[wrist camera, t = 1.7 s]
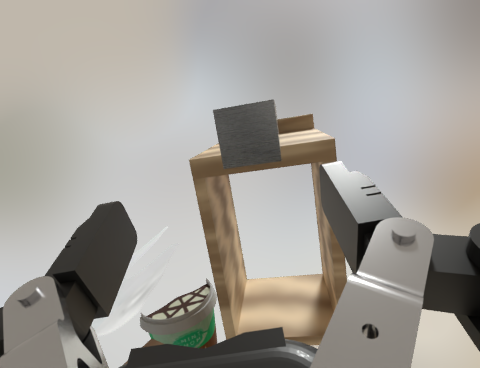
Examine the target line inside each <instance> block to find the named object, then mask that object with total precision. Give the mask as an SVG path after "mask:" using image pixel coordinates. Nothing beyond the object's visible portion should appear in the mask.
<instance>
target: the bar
mask: <svg viewBox="0 0 480 368" xmlns="http://www.w3.org/2000/svg"><path fill="white" fill-rule="evenodd" d="M213 113H214V119H215V124H216V130H217V135H218V140H219V146H220V152H221V157H222V163H223V168H224V169H228V168H235V167H243V166H250V165H257V164H264V163H271V162H279V161H282V160H281V149H280V138H279V129H278V121H277V114H276V106H275V102H274V100H268V101H262V102H256V103H251V104H245V105H239V106H234V107H228V108H222V109H217V110H213Z"/></svg>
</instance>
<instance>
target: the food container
mask: <svg viewBox="0 0 480 368" xmlns="http://www.w3.org/2000/svg"><path fill="white" fill-rule="evenodd" d="M206 282H207V284H206V285H204V286H202V287H200V288H199V289H197V290H195V291H193V292H190V293H188V294H185V295H182V296H180V297H177V298H176V299H174V300H173V301H171V302H170V303H168V304H167V305H166V306H164V307H162V308H161V309H159V310H157V311H155V312H154V313H152V314H150V315H148V316H144V315H143V314H142V313H141V316H142V317H140V326H141V328H142V329H143V330H145V331H146V332H148V333H149V334H150V337H151V339H154V340H157V341H159V342H161V343H163V344H173V345H180V346H187V347H194V348H208V347H211V346H213V345H215V344H217V336H216V326H215V317H214V306H215V304H216V293H215V291H214V288H213V286H212V285H211V283H210V282H209V280H208V279H206Z"/></svg>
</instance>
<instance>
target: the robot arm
mask: <svg viewBox="0 0 480 368" xmlns="http://www.w3.org/2000/svg"><path fill="white" fill-rule="evenodd" d="M319 174H320V195H321V204H322V208H323V211H324V214H325V216H326V218H327V220H328V222H329V224H330V226H331V228H332V230H333V232H334V235H335V237H336V239H337V241H338V243H339V245H340V247H341V249H342V251H343V253H344V255H345V258H346V260H347V262H348V264H349V266H350V268H351V270H352V272H353V273H352V274H351V275H350V276H349V278H348V281H347V283H346V285H345V287H344V290H343V292H342V294H341V297H340V299H339V301H338V304H337V306H336V308H335V310H334V313H333V315H332V317H331V320H330V322H329V324H328V327H327V329H326V331H325V334H324V336H323V338H322V341H321V343H320V345H319V348H318V349H316V348H314V347H312V346H310V345H307V344H305V343H302V342H298V341H295V340H288V339H285V337H284V332H283V327H278V328H271V329H264V330H257V331H251V332H244V333H242V334H239V335H237V336H235V337H232V338H230V339H227V340H225V341H223V342H220V343H218V344H215V345H213V346H211V347H208V348H194V347H187V346H180V345H173V344H162V345H155V346H148V347H142V348H135V349H131V352H130V355H129V359H128V362H127V364H125V365H123V366H121V367H119V368H411V363H412V357H413V352H414V347H415V342H416V337H417V331H418V325H419V321H420V315H421V310H422V309H427V310H434V311H441V312H448V313H454V314H455V316H456V317H457V319H458V320H459V322H460V323H461V324H462V326H463V328H464V329H465V331H466V332H467V334H468V335H469V336H470V338H471V339H472V341H473V342H474V344H475V345H476V347H477V348H478V350H479V351H480V224H477V225H475V226H474V227H472V229H471V230H470V234H469V236H468V237H467V236H451V235H450V236H449V235H438V234H432V232H431V231H430V230H429V229H428V228H427V227H426V226H424V225H423V224H421V223H419V222H417V221H415V220H411V219H408V218H403V217H402V216H401V215H400V214H399V212H398V211H397V210H396V209H395V208H394V207H393V205H392V204H391V203H390V202H389V201H388V199H387V198H386V197H385V196H384V195H383V194H381V191H380V190H379V189H378V188H377V187H376V186H375V184H374V183H373V182H372V181H371V180H370V178H369V177H368V176H365V175H364V174H362V173H360V172H358V171H353V172H348V170H347V169H346V167H345V166H344V165H343V163H342V162H341V161H336V162H331V163H325V164H321V165H320V167H319ZM136 244H137V234H136V230H135V228H134V226H133V224H132V222H131V220H130V218H129V217H128V214H127V212H126V210H125V208H124V206H123V205H122V204H121V202H119V201H116V202H110V203H105V204H100V205H98V206H97V208H96V209H95V210H94V212H93V213H92V215H91V216H90V218H89V219H87V220H86V221H85V222H84V223H83V224H82V225H81V226H80V227H78V228H77V230H76V231H75V233H74V234H73V235H72V237H71V240H69V241H68V243H67V244H66V246H65V248H64V249H63V250H62V251H61V253H60V254H59V256H58V257H57V259H56V260H55V262H54V263H53V264H52V266H51V268H50V269H49V270H48V272H47V273H46V275H45V276H43V277H39V278H36V279H33V280H31V281H29V282H27V283H26V284H24V285H23V286H21V287H20V288H18V289H17V290H16V291H15V292H14V293H13V294H12V295H11V296H10V297H9V298H8V300H7V301H6V302H5V305H4V307H1V308H0V368H109V367H108V365H107V362H106V359H105V357H104V354H103V351H102V349H101V346H100V343H99V340H98V338H97V335H96V332H95V330H94V329H93V327H92V326H91V324H92V322H93V319H96V318H102V317H109V314H110V312H111V309H112V306H113V304H114V301H115V299H116V296H117V294H118V291H119V288H120V286H121V283H122V281H123V278H124V276H125V273H126V270H127V268H128V265H129V263H130V260H131V258H132V255H133V252H134V249H135V247H136Z"/></svg>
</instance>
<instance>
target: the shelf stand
mask: <svg viewBox="0 0 480 368" xmlns="http://www.w3.org/2000/svg"><path fill="white" fill-rule="evenodd" d="M277 121H278V129H279V138H280V149H281V160H282V161H279V162H271V163H264V164H257V165H250V166H243V167H235V168H228V169H224V168H223V163H222V157H221V152H220V146H219V143H218V144H216V145H215V146H213V147H211V148H209V149H208V150H206V151H204V152H202V153H201V154H199V155H197V156H195V157H193V158H191V159H190V160H189V161H190V167H191V171H192V176H193V181H194V185H195V190H196V196H197V200H198V205H199V210H200V215H201V220H202V224H203V229H204V233H205V239H206V244H207V249H208V253H209V258H210V263H211V268H212V273H213V277H214V282H215V287H216V292H217V297H218V301H219V306H220V311H221V316H222V320H223V326H224V330H225V335H226V340H227V339H230V338H232V337H235V336H237V335H239V334H242V333H244V332H251V331H257V330H264V329H271V328H278V327H283V332H284V337H285V339H288V340H295V341H298V342H302V343H305V344H307V345H320V343H321V341H322V338H323V336H324V334H325V331H326V329H327V327H328V324H329V322H330V320H331V317H332V315H333V313H334V310H335V308H336V306H337V304H338V301H339V299H340V297H341V294H342V292H343V290H344V287H345V285H346V283H347V276H346V265H345V255H344V253H343V251H342V249H341V247H340V245H339V243H338V241H337V239H336V237H335V235H334V232H333V230H332V228H331V226H330V224H329V222H328V220H327V218H326V216H325V214H324V211H323V208H322V204H321V195H320V174H319V167H320V165H321V164H325V163H331V162H336V161H337V158H336V147H335V138H333V137H331V136H329V135H327V134H325V133H323V132H320V131H318V130H317V129H315V128H314V123H313V114H308V115H302V116H296V117H290V118H284V119H277ZM309 163H311V166H312V177H313V185H314V195H315V205H316V214H317V224H318V233H319V242H320V251H321V261H322V271H323V274H315V275H303V276H287V277H275V278H261V279H247V278H246V271H245V266H244V260H243V254H242V249H241V243H240V237H239V232H238V226H237V220H236V215H235V209H234V204H233V198H232V192H231V187H230V181H229V175H228V174H236V173H243V172H250V171H257V170H264V169H272V168H280V167H287V166H294V165H301V164H309Z"/></svg>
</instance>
